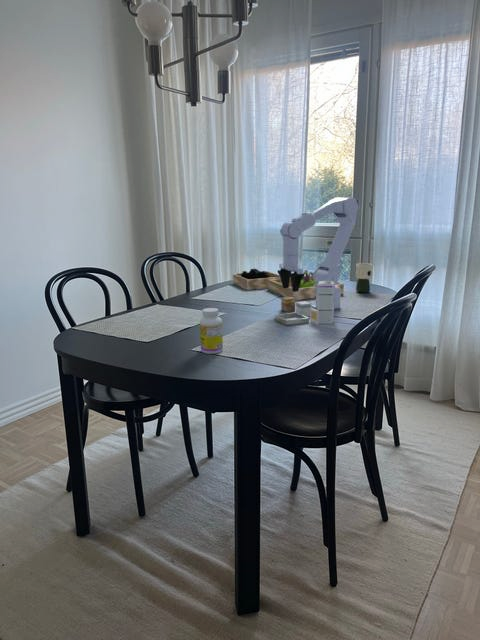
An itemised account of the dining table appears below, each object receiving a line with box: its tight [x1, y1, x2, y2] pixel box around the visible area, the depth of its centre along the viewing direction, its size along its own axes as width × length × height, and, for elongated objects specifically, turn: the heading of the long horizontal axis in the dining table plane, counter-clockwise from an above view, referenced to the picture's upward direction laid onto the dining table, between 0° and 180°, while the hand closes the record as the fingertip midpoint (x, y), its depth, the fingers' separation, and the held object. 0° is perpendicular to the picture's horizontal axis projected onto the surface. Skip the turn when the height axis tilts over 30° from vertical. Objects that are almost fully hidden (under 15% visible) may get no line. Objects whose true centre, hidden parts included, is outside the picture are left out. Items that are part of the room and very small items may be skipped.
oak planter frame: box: [267, 275, 345, 301], centre depth 221 cm, size 26×26×5 cm
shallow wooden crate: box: [232, 270, 280, 291], centre depth 240 cm, size 20×20×5 cm
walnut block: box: [280, 296, 296, 313], centre depth 188 cm, size 4×4×5 cm
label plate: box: [309, 307, 320, 326], centre depth 169 cm, size 1×5×5 cm, turn 23°
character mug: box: [355, 262, 373, 293], centre depth 218 cm, size 11×7×13 cm, turn 153°
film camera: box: [241, 268, 270, 280], centre depth 238 cm, size 15×10×9 cm, turn 68°
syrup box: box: [317, 281, 335, 325], centre depth 170 cm, size 6×6×14 cm
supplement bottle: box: [199, 307, 224, 355], centre depth 141 cm, size 7×7×13 cm
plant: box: [289, 270, 316, 288], centre depth 219 cm, size 20×20×11 cm
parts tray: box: [274, 311, 310, 327], centre depth 173 cm, size 9×9×2 cm
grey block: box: [295, 300, 312, 317], centre depth 180 cm, size 4×4×5 cm
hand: (290, 289), depth 183 cm, fingers open, 7 cm apart
